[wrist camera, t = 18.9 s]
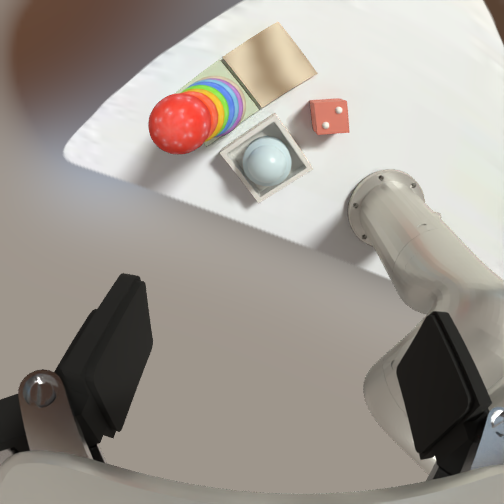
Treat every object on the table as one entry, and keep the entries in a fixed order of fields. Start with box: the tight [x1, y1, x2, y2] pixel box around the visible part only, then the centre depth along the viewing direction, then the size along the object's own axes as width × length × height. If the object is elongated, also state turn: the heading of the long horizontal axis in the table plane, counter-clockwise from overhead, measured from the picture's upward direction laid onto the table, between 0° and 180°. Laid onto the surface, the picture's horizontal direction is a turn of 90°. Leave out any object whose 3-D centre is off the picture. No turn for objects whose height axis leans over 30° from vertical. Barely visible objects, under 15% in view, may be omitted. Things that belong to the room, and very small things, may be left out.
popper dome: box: [243, 136, 291, 186], centre depth 38 cm, size 6×6×5 cm
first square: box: [223, 22, 317, 108], centre depth 34 cm, size 8×8×1 cm
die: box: [310, 99, 349, 135], centre depth 36 cm, size 4×4×4 cm
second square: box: [175, 60, 259, 147], centre depth 37 cm, size 8×8×1 cm
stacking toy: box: [148, 76, 246, 154], centre depth 29 cm, size 8×8×19 cm
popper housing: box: [220, 113, 313, 203], centre depth 40 cm, size 9×9×3 cm
